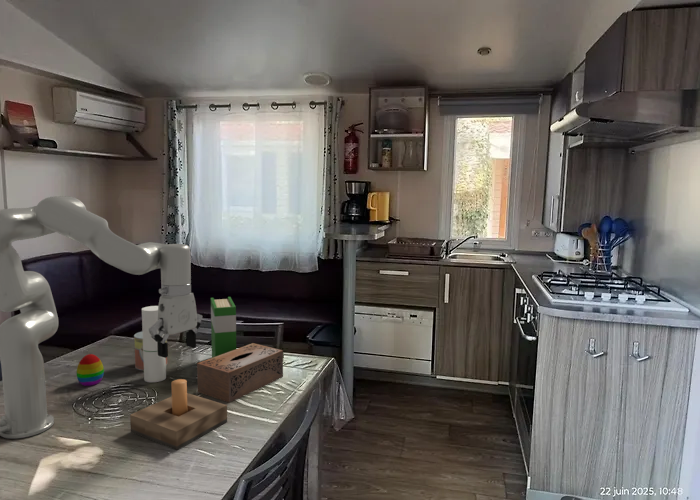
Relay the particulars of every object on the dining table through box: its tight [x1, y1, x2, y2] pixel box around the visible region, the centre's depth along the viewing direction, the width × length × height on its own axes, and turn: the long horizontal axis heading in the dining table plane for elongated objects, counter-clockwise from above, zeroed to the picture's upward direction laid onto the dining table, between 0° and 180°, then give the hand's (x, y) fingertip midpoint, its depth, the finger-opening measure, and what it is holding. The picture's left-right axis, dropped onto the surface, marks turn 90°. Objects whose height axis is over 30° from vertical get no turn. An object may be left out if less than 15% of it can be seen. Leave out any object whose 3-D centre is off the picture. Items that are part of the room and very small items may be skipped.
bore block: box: [129, 392, 228, 451], centre depth 136 cm, size 18×18×5 cm
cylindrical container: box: [141, 305, 167, 383], centre depth 169 cm, size 7×7×25 cm
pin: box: [170, 378, 188, 417], centre depth 136 cm, size 4×4×12 cm
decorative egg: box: [76, 353, 105, 387], centre depth 165 cm, size 8×8×10 cm
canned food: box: [133, 330, 168, 371], centre depth 183 cm, size 11×11×12 cm
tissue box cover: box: [196, 342, 284, 404], centre depth 166 cm, size 26×14×10 cm, turn 148°
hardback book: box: [210, 296, 237, 358], centre depth 184 cm, size 18×7×24 cm, turn 20°
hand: (177, 351), depth 134 cm, fingers open, 9 cm apart
